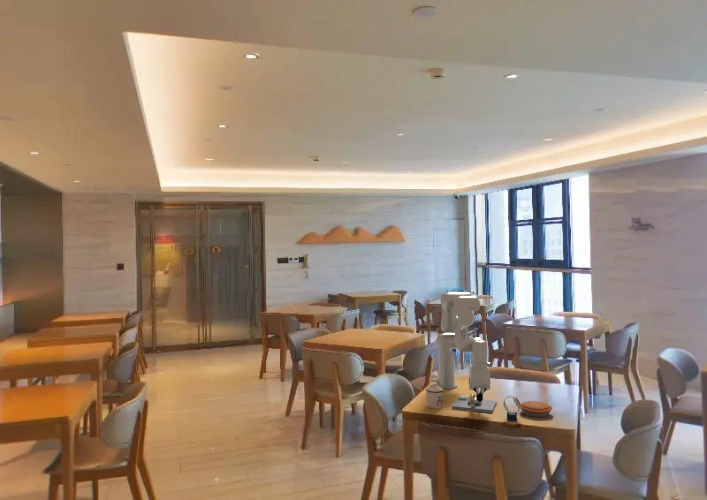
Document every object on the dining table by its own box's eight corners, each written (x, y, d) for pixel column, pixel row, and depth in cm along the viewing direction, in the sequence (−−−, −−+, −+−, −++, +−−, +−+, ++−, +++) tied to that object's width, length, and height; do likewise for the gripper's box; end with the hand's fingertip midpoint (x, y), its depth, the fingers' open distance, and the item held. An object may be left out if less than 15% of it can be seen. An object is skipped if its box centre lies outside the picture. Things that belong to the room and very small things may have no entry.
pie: (555, 419, 250) (555, 409, 251) (521, 418, 253) (521, 407, 253) (548, 410, 266) (548, 400, 266) (517, 408, 268) (517, 398, 268)
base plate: (452, 408, 268) (452, 402, 268) (458, 399, 284) (458, 393, 284) (492, 413, 260) (492, 406, 260) (496, 403, 277) (496, 397, 277)
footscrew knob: (468, 400, 277) (468, 388, 277) (482, 401, 274) (482, 389, 274) (465, 406, 265) (465, 394, 265) (479, 408, 263) (479, 395, 263)
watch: (520, 421, 247) (520, 398, 247) (502, 420, 250) (502, 396, 250) (521, 418, 252) (521, 395, 252) (504, 416, 255) (503, 393, 255)
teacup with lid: (439, 409, 266) (439, 386, 266) (423, 407, 271) (423, 384, 271) (448, 404, 276) (448, 381, 277) (432, 401, 281) (432, 379, 281)
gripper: (492, 363, 269) (492, 399, 268) (463, 363, 268) (463, 399, 268) (496, 366, 261) (496, 403, 261) (466, 366, 261) (466, 403, 261)
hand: (479, 401), depth 265 cm, fingers closed
